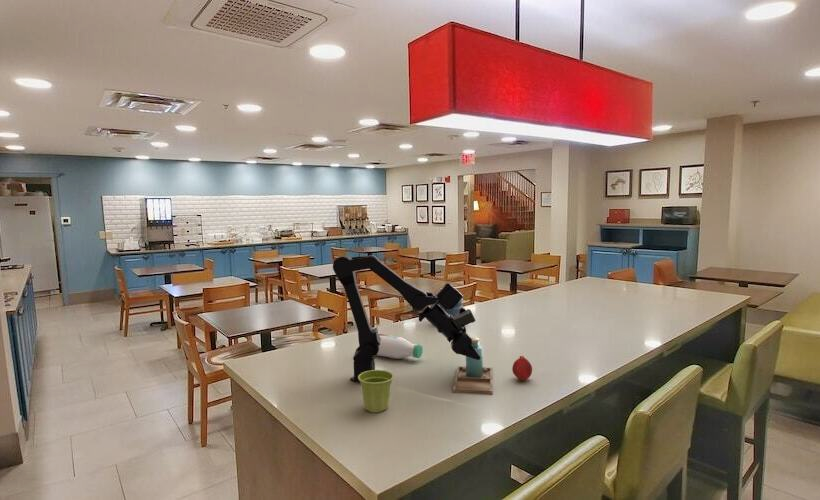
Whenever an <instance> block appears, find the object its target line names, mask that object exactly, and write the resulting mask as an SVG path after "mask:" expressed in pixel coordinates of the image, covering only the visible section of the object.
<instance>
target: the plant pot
mask: <svg viewBox="0 0 820 500" xmlns="http://www.w3.org/2000/svg"><path fill="white" fill-rule="evenodd" d="M394 377H395V375H394V373H393V372H390V371H388V370H382V369H375V370H370V371H366V372H363V373H361V374H360V375H359V376H358V379H359V381H360V382H359V384H360V386H361V391H362V398H363V405H364V409H365V410H366V411H368V412H369V413H381V412H383V411H384V410H385V411H386V410H388V408H389V402H390V401H389V399H390V393H391V392H390V391H391V385H392V382H393V380H394Z"/></svg>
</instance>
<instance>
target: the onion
mask: <svg viewBox="0 0 820 500" xmlns="http://www.w3.org/2000/svg"><path fill="white" fill-rule="evenodd" d="M511 367H512V368H511V370H512V373H513V375H514V376H515V377H516V378H517V379H518V380H519V381H526V380H528V379H529V378H530V377H531V376H532V374H533V367H532V364H531V363H530V361H529V360H528V359H527V358H525V356H524V355H522V354H521V355H519V358H517V359H516V360H514V362H513V364H512V366H511Z"/></svg>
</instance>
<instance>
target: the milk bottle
mask: <svg viewBox="0 0 820 500" xmlns="http://www.w3.org/2000/svg"><path fill="white" fill-rule="evenodd" d="M378 335H379V337H380V338H381V342H380V345H379V351H378V353H377V355H376V356H379V357H385V358H390V359H397V360H399V359H400V360H401V359H405V358H409V357H412V358H415V359H420V358H421V357H422V355H423V351H424V349H423V346H422V345H421V344H419V343H418V344H417V343H415V344H413V343H412V342H410V341H408V340H407V339H405V338H403V337H400V336H395V335H389V334H383V333H378Z"/></svg>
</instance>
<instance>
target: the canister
mask: <svg viewBox="0 0 820 500" xmlns="http://www.w3.org/2000/svg"><path fill="white" fill-rule="evenodd" d="M463 301H464V297H463V298H462V299H461V300H460V302H459V303H458V304H457V305H456V306H455V307H454V308H453V309H452V310H451V309H449V310H448V309H447V310H446V309H445V308H444V307H443V306H442V305H441V304H439V303H438V305H439V306H440V307H441V308H442V309H443V310H444V311H445V312H446V313H447V314H448V315H452V316H453V317H454V316H456V315H457V314H459V309H460V308H462V307H463V308H464V305H463Z"/></svg>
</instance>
